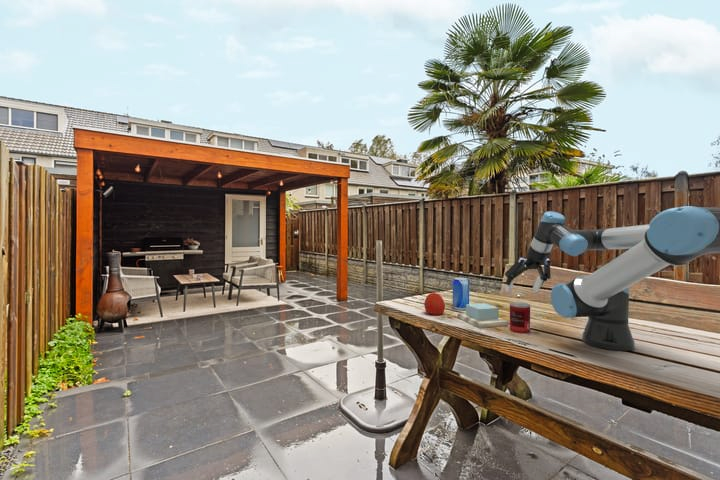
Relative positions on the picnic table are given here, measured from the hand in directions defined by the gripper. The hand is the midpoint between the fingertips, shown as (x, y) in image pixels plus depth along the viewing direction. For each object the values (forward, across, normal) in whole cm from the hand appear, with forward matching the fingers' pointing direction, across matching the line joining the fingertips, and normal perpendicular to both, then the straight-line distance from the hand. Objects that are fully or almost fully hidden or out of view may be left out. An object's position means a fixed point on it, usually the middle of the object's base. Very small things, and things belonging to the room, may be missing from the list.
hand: (521, 290), depth 145 cm
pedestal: (+16, +12, -2) cm, 21 cm away
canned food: (+10, +5, +13) cm, 17 cm away
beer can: (+30, +10, -23) cm, 39 cm away
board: (+18, +12, -1) cm, 22 cm away
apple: (+28, +27, -16) cm, 42 cm away
